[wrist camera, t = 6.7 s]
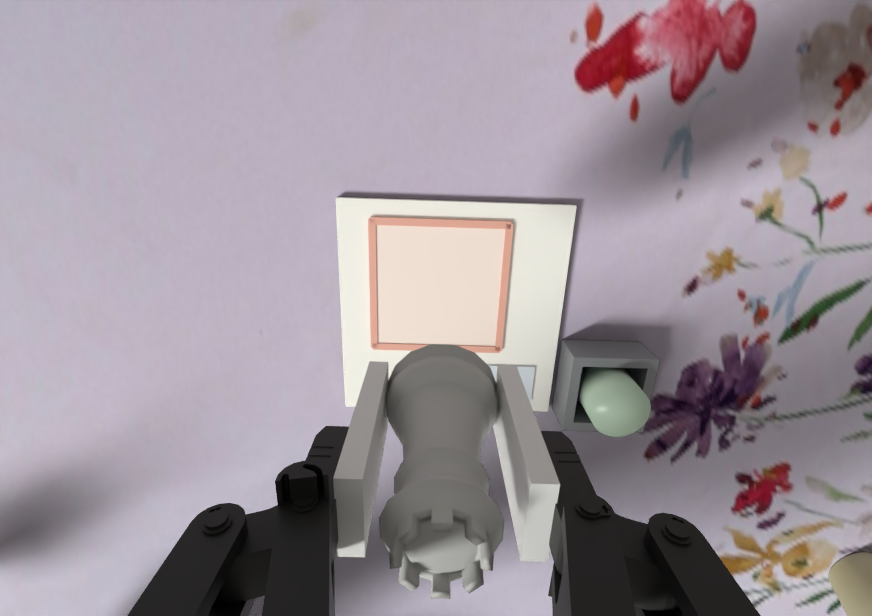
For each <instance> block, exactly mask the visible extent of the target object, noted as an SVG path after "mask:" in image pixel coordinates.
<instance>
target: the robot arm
mask: <svg viewBox="0 0 872 616" xmlns="http://www.w3.org/2000/svg"><path fill="white" fill-rule="evenodd" d="M388 380H389V365H388V362H375V361H369V365H368V368H367V371H366V374H365V378H364V381H363V384H362V387H361V390H360V394H359V397H358V400H357V403H356V407H355V410H354V413H353V416H352V419H351V423H350V426H349V427H341V426H326V427H324V428H323V429H322V430H321V431H320V432H319V433H318V434H317V435H316V437H315V439H314V441H313V444H312V446H311V449H310V451H309V453H308V457H307V458H306V460H305V461H301V462H297V463H293V464H292V465H290V466H288V467H286V468H284V469H283V470H282V471H281V472H280V473H279V474H278V476H277V478H276V481H275V484H276V492H277V501H278V505H277V506H275V507H273V508H270V509H267V510H264V511H260V512H256V513H251V514H247V515H245V511H244V509H243V508H242V507H240V506H239V505H237V504H232V503H225V504H218V505H215V506H212V507H210V508H207V509H206V510H204V511H203V512H201V513H200V514H198V515H197V516H196V517H195V518H194V519H193V521H192V522H191V523H190V524H189V526H188V527H187V529H186V530H185V532H184V533H183V535H182V536H181V538H180V539H179V541H178V542H177V544H176V545H175V546H174V548H173V549H172V551H171V552H170V554H169V555H168V557H167V558H166V560H165V561H164V563H163V564H162V566H161V567H160V569H159V570H158V572H157V573H156V574H155V576H154V577H153V579H152V580H151V582H150V583H149V585H148V586H147V588H146V589H145V591H144V592H143V594H142V595H141V597H140V598H139V600H138V601H137V602H136V604H135V605H134V607H133V608H132V610H131V611H130V613H129V614H128V616H248V615H249V612H250V610H251V608H252V605H253V603H254V600H255V598H257V597H261V596H264V595H265V599H264V606H263V613H262V616H335V586H334V555H335V551H336V547H337V550H338V557H365V554H366V549H367V543H368V537H369V531H370V526H371V520H372V514H373V508H374V502H375V497H376V491H377V485H378V479H379V473H380V468H381V462H382V456H383V450H384V444H385V439H386V433H387V427H388V421H389V420H388V417H387V405H386V395H387V393H388ZM496 383H497V392H496V393H497V396H498V407H497V418H496V421H495V423H494V425H493V428H494V433H495V438H496V443H497V448H498V453H499V458H500V463H501V468H502V472H503V477H504V482H505V487H506V492H507V497H508V502H509V507H510V512H511V517H512V521H513V526H514V531H515V536H516V541H517V546H518V551H519V556H520V561H536V562H547V561H548V555H549V549H551V553H552V556H553V560H554V565H553V571H552V577H551V583H550V589H549V594H548V596H551V597H552V604H553V616H760V614H759V613H758V612H757V610H756V609H755V607H754V606H753V605H752V603H751V602H750V600H749V599H748V598H747V596H746V595H745V593H744V592H743V590H742V589H741V588H740V586H739V585H738V583H737V582H736V581H735V579H734V578H733V576H732V575H731V574H730V572H729V571H728V569H727V568H726V567H725V565H724V564H723V562H722V561H721V560H720V558H719V557H718V555H717V554H716V553H715V551H714V550H713V548H712V547H711V546H710V544H709V543H708V541H707V540H706V539H705V537H704V536H703V534H702V533H701V532H700V531H699V530H698V529H697V528H696V527H695V526H694V525H693V524H691V523H690V522H688V521H687V520H685V519H683V518H681V517H678V516H676V515H673V514H667V513H660V514H655V515H653V516H652V517H651V518H650V519H649V522H648V524H645V523H641V522H637V521H634V520H630V519H627V518H624V517H621V516H619V515H617V514H615V513H614V511H613V509H612V507H611V506H610V505H609V504H608V503H607V502H606V501H605V500H604V499H602V498H600V497H599V496H597V495H596V493H595V491H594V489H593V486H592V484H591V482H590V480H589V478H588V476H587V473H586V471H585V469H584V467H583V465H582V464H581V460H580V458H579V456H578V455H577V452H576V450H575V447H574V445H573V443H572V441H571V440H570V439H569V438H568V437H566V436H565V435H564V434H563V433H562V432H556V431H540V428H539V425H538V423H537V420H536V417H535V415H534V412H533V409H532V406H531V404H530V401H529V398H528V396H527V393H526V390H525V387H524V385H523V382H522V379H521V377H520V374H519V371H518V368H517V366H510V365H498V367H497V378H496Z"/></svg>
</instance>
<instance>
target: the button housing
mask: <svg viewBox="0 0 872 616" xmlns="http://www.w3.org/2000/svg"><path fill="white" fill-rule="evenodd" d="M659 362H660V359H659V358H657V357H656V356H655V355H654V354H653V353H652V352H651V351H650V350H649V349H648V348H647V347H646V346H645V345H644V344H643V343H641V342H630V341H595V340H562V343H561V350H560V357H559V364H558V371H557V378H556V385H555V392H554V399H553V406H552V408H553V411H554V413H555V415H556V417H557V419H558V422H559V424H560V426H561V428H562V430H568V431H598V430H597V429H596V428H595V427H594V425H593V423H592V421H591V420H590V418H589V416H588V415H587V413H586V411H585V409H584V408H583V406H582V404H581V402H580V401H577V397H578V391H579V384H580V378H581V372H582V367H611V368H626V372H627V373H628V374H629V375H630V377H631V378H632V379H633V380H634V381H635V382H636V384H637V385H638V386H639V387H640V388H641V389H642V391H643V392H644V393H645V394H646V395H647V397H648V398H649V400H651V396H652V392H653V387H654V383H655V379H656V375H657V370H658V366H659ZM644 426H645V424H644V425H643V426H642V427H641V428H640V429H639V430H637V431H636V432H643V430H644Z"/></svg>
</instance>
